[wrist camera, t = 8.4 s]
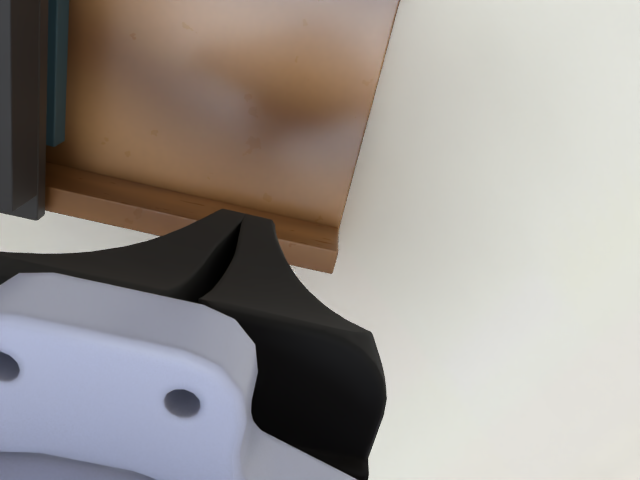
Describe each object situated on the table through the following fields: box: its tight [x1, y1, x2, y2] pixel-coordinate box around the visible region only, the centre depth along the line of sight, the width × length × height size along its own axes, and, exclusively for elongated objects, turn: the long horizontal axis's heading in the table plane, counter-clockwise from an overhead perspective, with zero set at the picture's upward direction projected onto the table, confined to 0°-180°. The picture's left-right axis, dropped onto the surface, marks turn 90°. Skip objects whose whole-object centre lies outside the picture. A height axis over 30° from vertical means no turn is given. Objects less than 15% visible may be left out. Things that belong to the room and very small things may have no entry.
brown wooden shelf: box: [45, 0, 400, 274], centre depth 19 cm, size 11×22×3 cm, turn 77°
